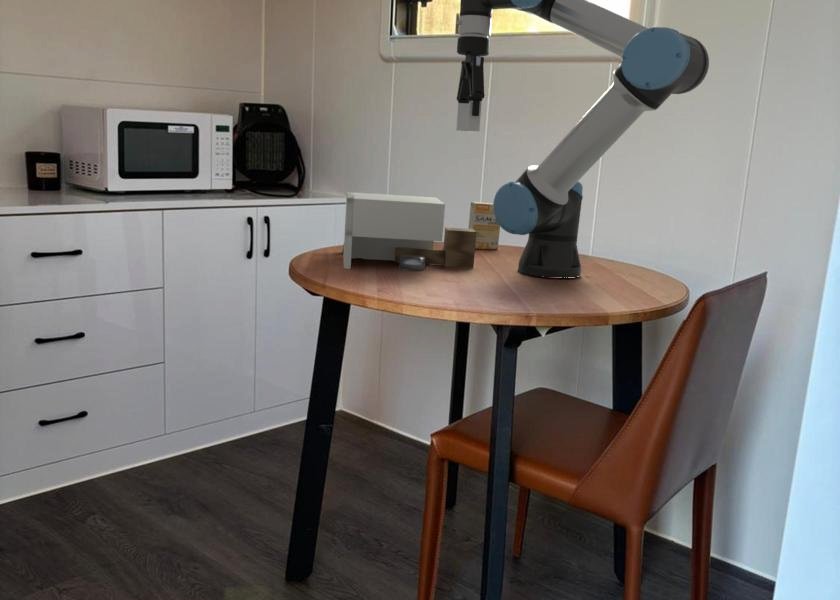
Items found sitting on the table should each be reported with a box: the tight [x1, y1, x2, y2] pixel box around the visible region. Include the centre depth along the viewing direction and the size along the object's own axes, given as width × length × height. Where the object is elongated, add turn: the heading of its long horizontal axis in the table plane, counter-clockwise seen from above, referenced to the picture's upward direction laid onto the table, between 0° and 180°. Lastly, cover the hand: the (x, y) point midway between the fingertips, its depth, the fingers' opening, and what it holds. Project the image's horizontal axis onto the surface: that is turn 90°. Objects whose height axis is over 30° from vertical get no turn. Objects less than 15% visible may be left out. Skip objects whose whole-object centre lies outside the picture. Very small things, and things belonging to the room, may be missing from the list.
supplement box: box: [467, 201, 501, 251], centre depth 227 cm, size 8×5×13 cm, turn 102°
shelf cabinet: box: [342, 191, 446, 270], centre depth 188 cm, size 22×16×16 cm
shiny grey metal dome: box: [398, 254, 426, 272], centre depth 187 cm, size 6×6×3 cm
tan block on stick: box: [394, 227, 476, 269], centre depth 194 cm, size 19×5×9 cm, turn 96°
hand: (467, 131), depth 188 cm, fingers open, 13 cm apart
